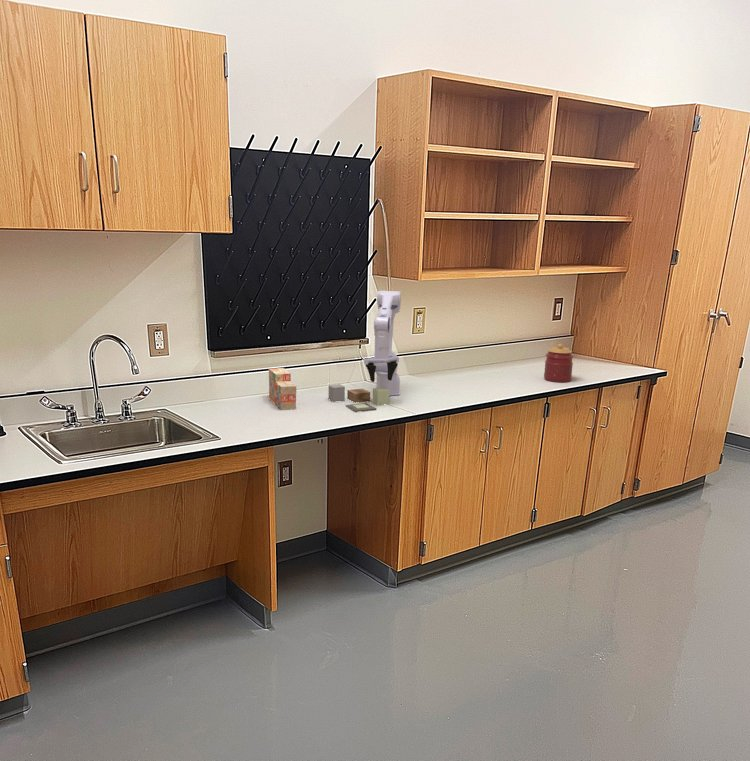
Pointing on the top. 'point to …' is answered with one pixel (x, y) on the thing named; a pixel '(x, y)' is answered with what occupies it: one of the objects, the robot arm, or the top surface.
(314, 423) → the top surface
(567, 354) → the canister
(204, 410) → the top surface
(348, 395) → the walnut base block
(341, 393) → the slate grey block
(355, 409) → the card
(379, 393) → the sage green block
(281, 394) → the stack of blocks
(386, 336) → the robot arm
